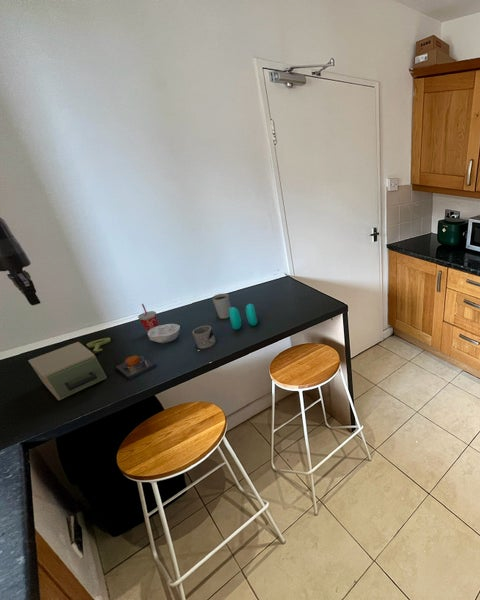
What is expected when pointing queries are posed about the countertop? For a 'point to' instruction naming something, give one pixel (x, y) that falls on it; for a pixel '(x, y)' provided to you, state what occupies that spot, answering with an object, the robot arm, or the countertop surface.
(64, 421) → the countertop surface
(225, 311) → the drinking glass
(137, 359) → the button
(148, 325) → the beverage cup
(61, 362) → the small drawer cabinet
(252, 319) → the donuts
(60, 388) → the pull-out drawer
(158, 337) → the cell model
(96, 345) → the key
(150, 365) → the control block
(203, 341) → the mug
